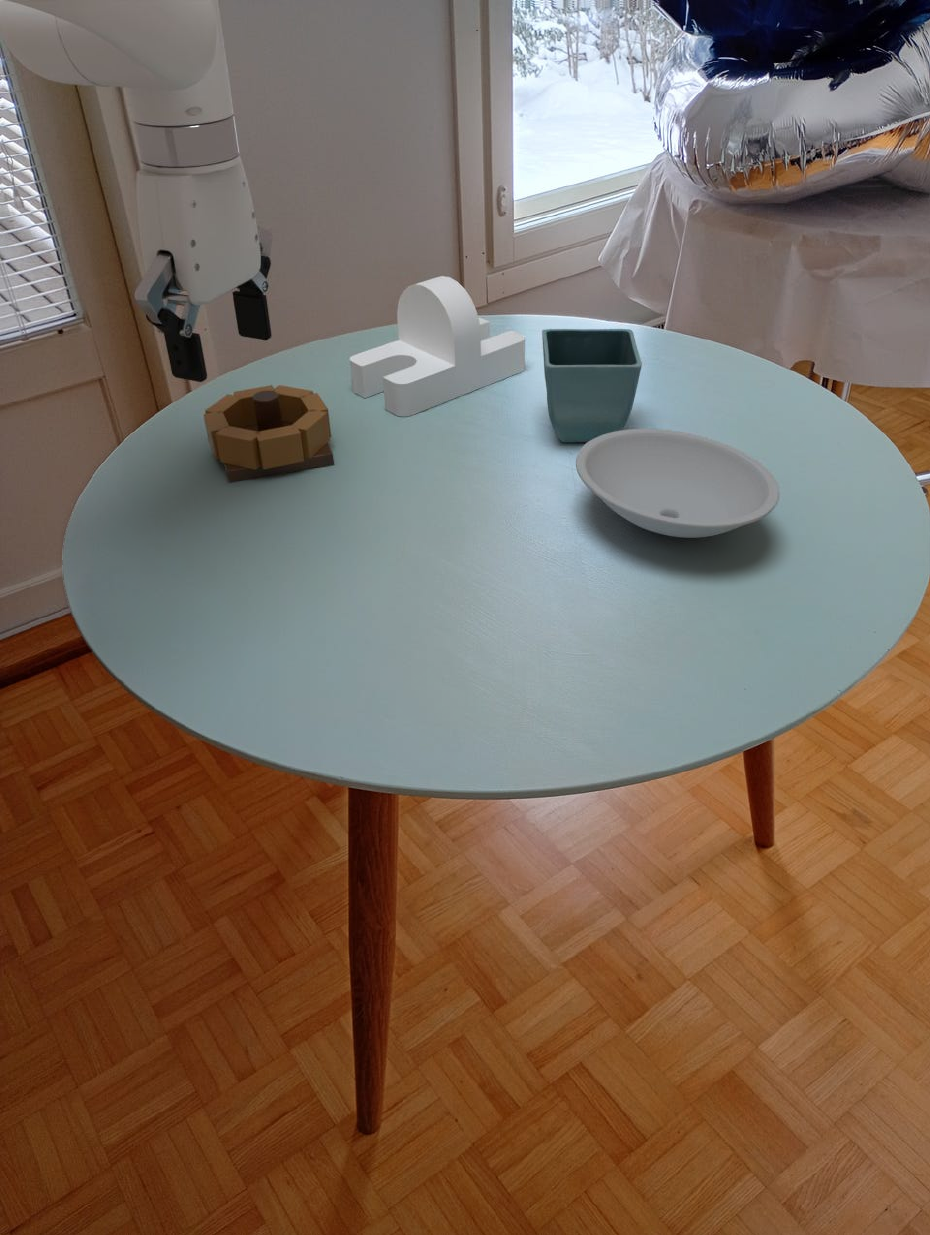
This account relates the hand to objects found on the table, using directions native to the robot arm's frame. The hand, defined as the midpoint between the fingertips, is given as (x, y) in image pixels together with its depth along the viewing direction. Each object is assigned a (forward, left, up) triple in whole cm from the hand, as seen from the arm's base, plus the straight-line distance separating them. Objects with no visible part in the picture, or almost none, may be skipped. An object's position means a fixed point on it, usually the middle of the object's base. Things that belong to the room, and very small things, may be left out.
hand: (224, 357), depth 86 cm
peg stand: (+3, +4, -12) cm, 13 cm away
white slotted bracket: (+23, +14, -12) cm, 29 cm away
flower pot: (+33, -3, -12) cm, 35 cm away
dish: (+33, -21, -12) cm, 41 cm away
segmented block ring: (+3, +4, -10) cm, 11 cm away
